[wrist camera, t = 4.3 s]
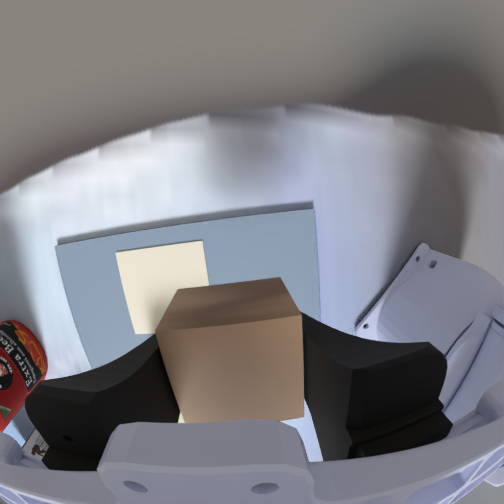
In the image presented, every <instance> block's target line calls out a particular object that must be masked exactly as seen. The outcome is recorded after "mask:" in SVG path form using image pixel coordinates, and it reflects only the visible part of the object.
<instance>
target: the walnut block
mask: <svg viewBox="0 0 504 504" xmlns="http://www.w3.org/2000/svg"><path fill="white" fill-rule="evenodd" d="M155 334H156V337H157V341H158V344H159V348H160V351H161V355H162V358H163V361H164V364H165V368H166V371H167V374H168V377H169V380H170V383H171V386H172V389H173V392H174V395H175V397H176V400H177V403H178V406H179V408H180V411H181V414H182V416H183V419H184V422H185V423H204V422H222V421H235V420H245V419H260V420H278V421H283V420H289V419H295V418H300V417H304V363H303V332H302V314H301V313H300V311H299V309H298V307H297V306H296V304H295V302H294V300H293V298H292V297H291V295H290V293H289V291H288V290H287V288H286V286H285V284H284V283H283V281H282V279H281V277H275V278H267V279H260V280H252V281H244V282H235V283H227V284H218V285H210V286H201V287H192V288H182V289H177V291H176V293H175V295H174V296H173V298H172V300H171V302H170V304H169V306H168V307H167V309H166V311H165V313H164V315H163V317H162V319H161V320H160V322H159V324H158V326H157V328H156V330H155Z"/></svg>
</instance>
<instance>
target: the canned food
mask: <svg viewBox="0 0 504 504" xmlns="http://www.w3.org/2000/svg"><path fill="white" fill-rule="evenodd" d="M46 373H47V360H46V357H45V354H44V351H43V349H42V347H41V345H40V344H39V342H38V341H37V339H36V338H35V336H34V335H33V334H32V333H31V332H30V331H29V330H28V329H27V328H26V327H25V326H24V325H22V324H21V323H19V322H17V321H13V320H8V321H2V322H1V323H0V431H1V432H3V430H4V429H5V428H6V427H7V425H8V424H9V423H10V421H11V420H12V419H13V418H14V416H15V415H16V414H17V412H18V411H19V410H20V409H21V407H22V406H23V405H24V404H25V399H26V397H27V395H28V394H29V393H30V392H31V391H32V390H33V388H34V387H35V386H36V385H37V384H38V383H39V381H41V380H44V379H45V376H46Z"/></svg>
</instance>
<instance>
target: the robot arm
mask: <svg viewBox="0 0 504 504" xmlns="http://www.w3.org/2000/svg"><path fill="white" fill-rule="evenodd" d="M417 256H418V259H417V260H416V257H417ZM300 313H301V314H302V332H303V363H304V398H305V401H306V403H307V405H308V408H309V411H310V413H311V416H312V420H313V423H314V427H315V430H316V434H317V438H318V442H319V445H320V449H321V453H322V457H323V462H309V460H308V457H307V454H306V450H305V447H304V443H303V440H302V439H301V437H300V435H299V433H298V431H297V429H296V428H294V427H291V426H289V425H287V424H284V423H282V422H280V421H278V420H260V419H245V420H235V421H222V422H204V423H178V421H179V416H180V412H181V411H180V408H179V406H178V403H177V400H176V397H175V395H174V392H173V389H172V386H171V383H170V380H169V377H168V374H167V371H166V368H165V364H164V361H163V358H162V355H161V351H160V348H159V344H158V341H157V337H156V334H153V335H152V336H151V337H149V338H148V339H147V340H145V341H144V342H143V343H141V344H140V345H138V346H137V347H135V348H134V349H132V350H131V351H129V352H128V353H126V354H124V355H123V356H121V357H119V358H117V359H115V360H113V361H111V362H109V363H107V364H105V365H102V366H100V367H97V368H95V369H92V370H90V371H87V372H83V373H80V374H76V375H72V376H68V377H63V378H57V379H49V380H41V381H39V383H38V384H37V385H36V386H35V387H34V388H33V390H32V391H31V392H30V393H29V394H28V395H27V397H26V399H25V408H26V412H27V415H28V416H29V418H30V420H31V422H32V423H33V425H34V426H35V428H36V429H37V431H38V432H39V433H40V435H41V436H42V438H43V439H44V440H45V442H46V443H47V444H48V446H49V447H48V449H47V451H46V453H45V454H44V456H43V458H42V459H40V458H38V457H35V456H33V455H30V454H28V453H25V452H24V450H23V449H22V447H21V446H20V445H19V443H18V442H17V441H16V440H15V439H14V438H13V437H11V436H9V435H7V434H5V433H3V432H1V431H0V497H1V498H2V499H3V500H4V501H6V502H7V503H8V504H453V503H454V502H456V501H457V500H459V499H460V498H462V497H463V496H464V495H466V494H467V493H468V492H470V491H471V490H472V489H474V488H475V487H476V486H477V485H479V484H480V483H481V482H482V481H484V480H485V481H486V482H488V483H490V484H492V485H493V486H500V485H503V484H504V287H503V285H502V284H501V283H500V282H499V281H498V280H497V279H496V278H495V277H494V276H492V275H491V274H490V273H488V272H487V271H485V270H484V269H482V268H480V267H478V266H476V265H474V264H471V263H469V262H466V261H463V260H460V259H458V258H455V257H452V256H449V255H446V254H443V253H440V252H437V251H434V250H431V249H430V247H429V246H428V245H427V244H425V243H421V244H420V245H419V246H418V248H417V249H416V251H415V252H414V253H413V255H412V256H411V258H410V259H409V261H408V262H407V263H406V265H405V266H404V268H403V269H402V270H401V272H400V273H399V274H398V276H397V277H396V278H395V280H394V281H393V282H392V284H391V285H390V286H389V288H388V289H387V290H386V291H385V293H384V294H383V295H382V297H381V298H380V299H379V300H378V302H377V303H376V304H375V305H374V306H373V308H372V309H371V310H370V311H369V313H368V314H367V315H366V316H365V317H364V318H363V320H362V321H361V322H360V323H359V324H358V325H357V327H356V328H355V333H356V334H357V335H358V336H359V337H357V336H353V335H350V334H347V333H344V332H341V331H339V330H336V329H334V328H332V327H329V326H327V325H325V324H323V323H321V322H319V321H317V320H316V319H314V318H312V317H310V316H308V315H307V314H305V313H303V312H301V311H300ZM365 324H367V325H366V326H365V327H363V326H364V325H365Z"/></svg>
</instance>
